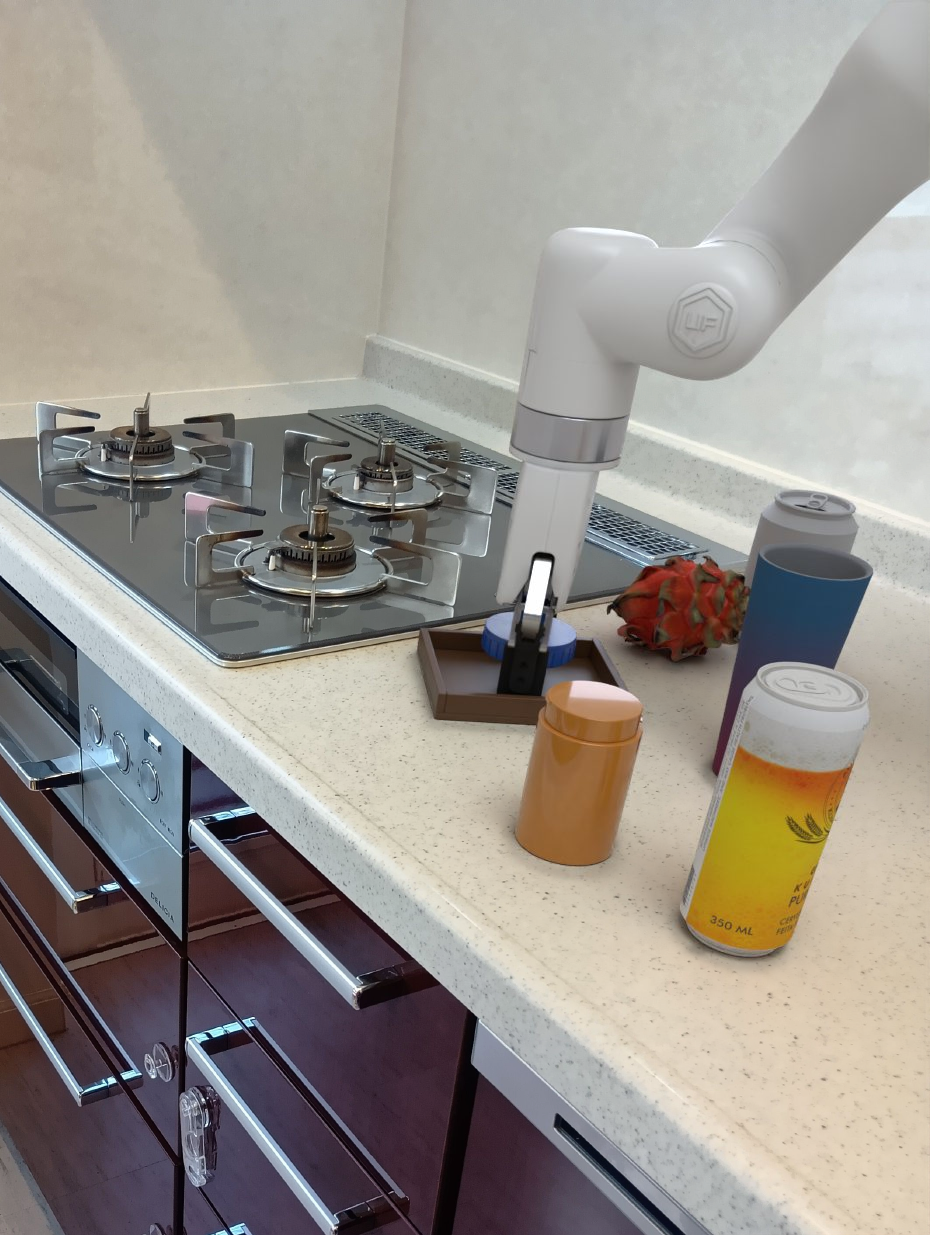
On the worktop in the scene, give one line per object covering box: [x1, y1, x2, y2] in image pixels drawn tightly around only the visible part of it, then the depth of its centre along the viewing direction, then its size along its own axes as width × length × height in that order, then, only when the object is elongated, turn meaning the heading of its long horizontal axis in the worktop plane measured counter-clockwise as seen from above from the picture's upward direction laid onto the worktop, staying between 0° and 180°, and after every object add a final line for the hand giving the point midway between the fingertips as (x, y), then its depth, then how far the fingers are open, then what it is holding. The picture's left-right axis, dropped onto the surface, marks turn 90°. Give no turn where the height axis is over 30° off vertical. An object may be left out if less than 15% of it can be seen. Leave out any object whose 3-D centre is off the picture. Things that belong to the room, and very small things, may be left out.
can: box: [737, 488, 860, 639], centre depth 107 cm, size 8×8×12 cm
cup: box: [711, 542, 874, 776], centre depth 85 cm, size 7×7×15 cm
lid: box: [481, 611, 578, 668], centre depth 96 cm, size 7×7×2 cm
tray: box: [416, 627, 630, 726], centre depth 98 cm, size 14×12×2 cm
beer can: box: [679, 662, 871, 958], centre depth 69 cm, size 6×6×15 cm
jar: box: [514, 681, 644, 866], centre depth 77 cm, size 6×6×9 cm
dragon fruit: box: [606, 554, 751, 662], centre depth 105 cm, size 8×8×12 cm
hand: (522, 677), depth 98 cm, fingers closed on lid, 6 cm apart
